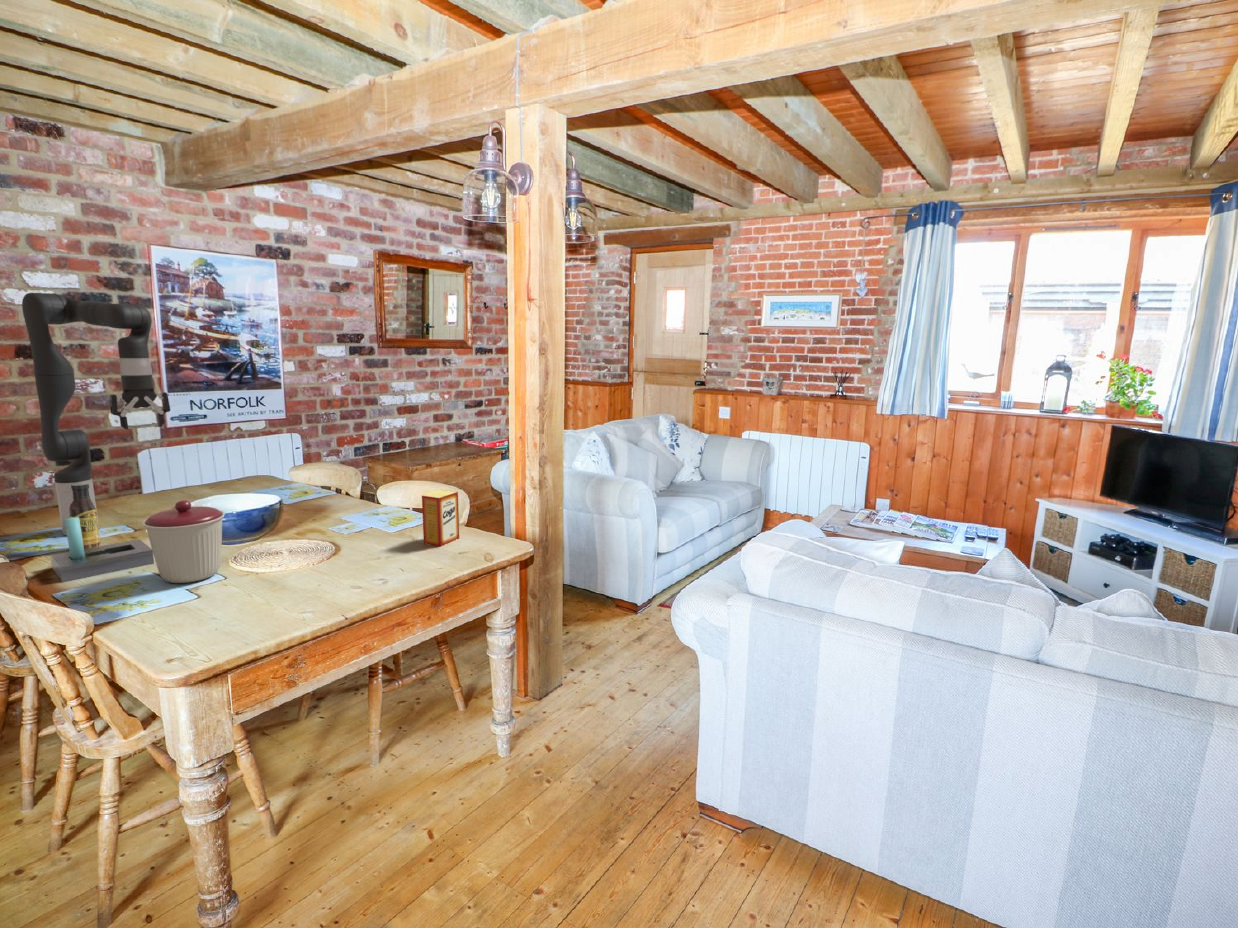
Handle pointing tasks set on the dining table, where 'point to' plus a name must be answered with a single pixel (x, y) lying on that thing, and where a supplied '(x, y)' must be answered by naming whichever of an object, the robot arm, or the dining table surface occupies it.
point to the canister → (186, 542)
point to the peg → (74, 538)
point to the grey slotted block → (102, 560)
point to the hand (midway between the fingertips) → (143, 427)
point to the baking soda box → (440, 517)
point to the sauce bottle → (85, 515)
